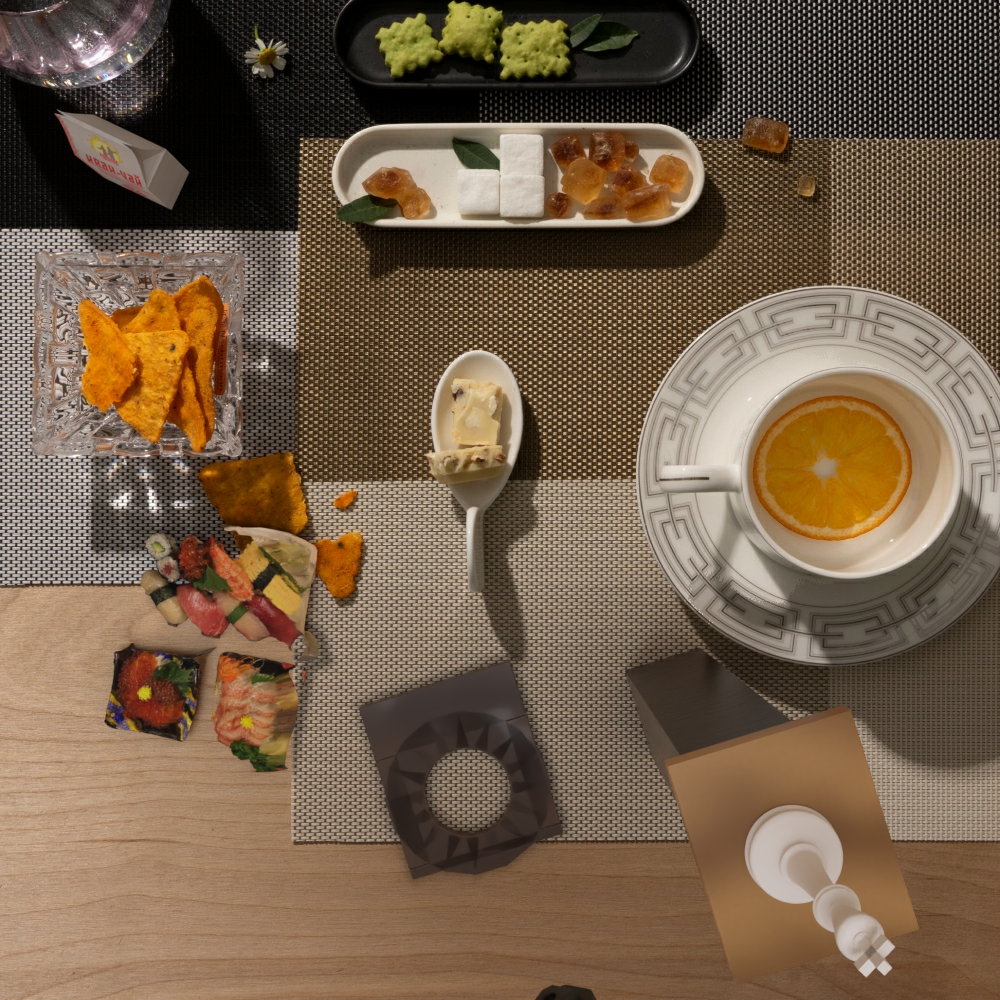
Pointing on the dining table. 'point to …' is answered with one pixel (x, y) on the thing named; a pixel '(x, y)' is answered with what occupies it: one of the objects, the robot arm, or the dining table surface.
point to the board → (447, 728)
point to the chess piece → (814, 880)
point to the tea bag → (125, 157)
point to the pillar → (694, 705)
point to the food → (235, 599)
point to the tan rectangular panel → (764, 786)
